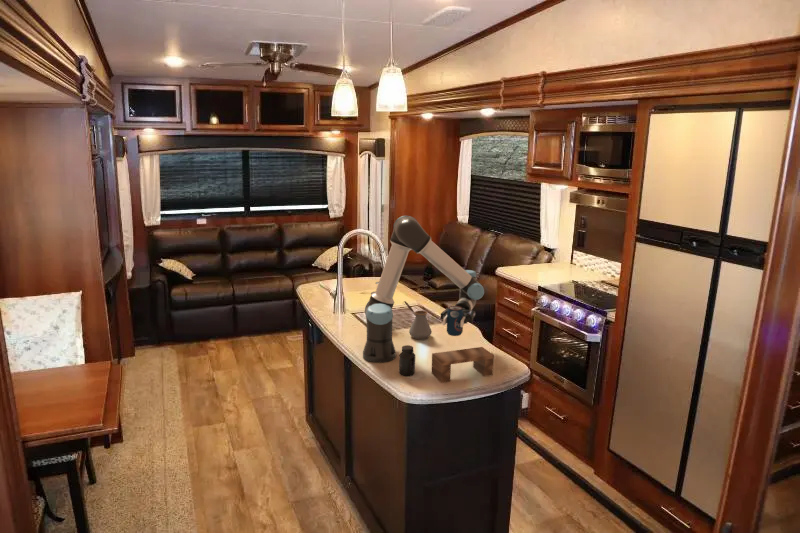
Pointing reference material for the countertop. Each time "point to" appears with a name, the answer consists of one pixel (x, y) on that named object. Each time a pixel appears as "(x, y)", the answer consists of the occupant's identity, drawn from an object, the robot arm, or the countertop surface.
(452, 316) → the soda can
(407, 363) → the supplement bottle
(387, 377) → the countertop surface
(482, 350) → the bridge shelf
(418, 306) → the countertop surface
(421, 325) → the coffee pot
